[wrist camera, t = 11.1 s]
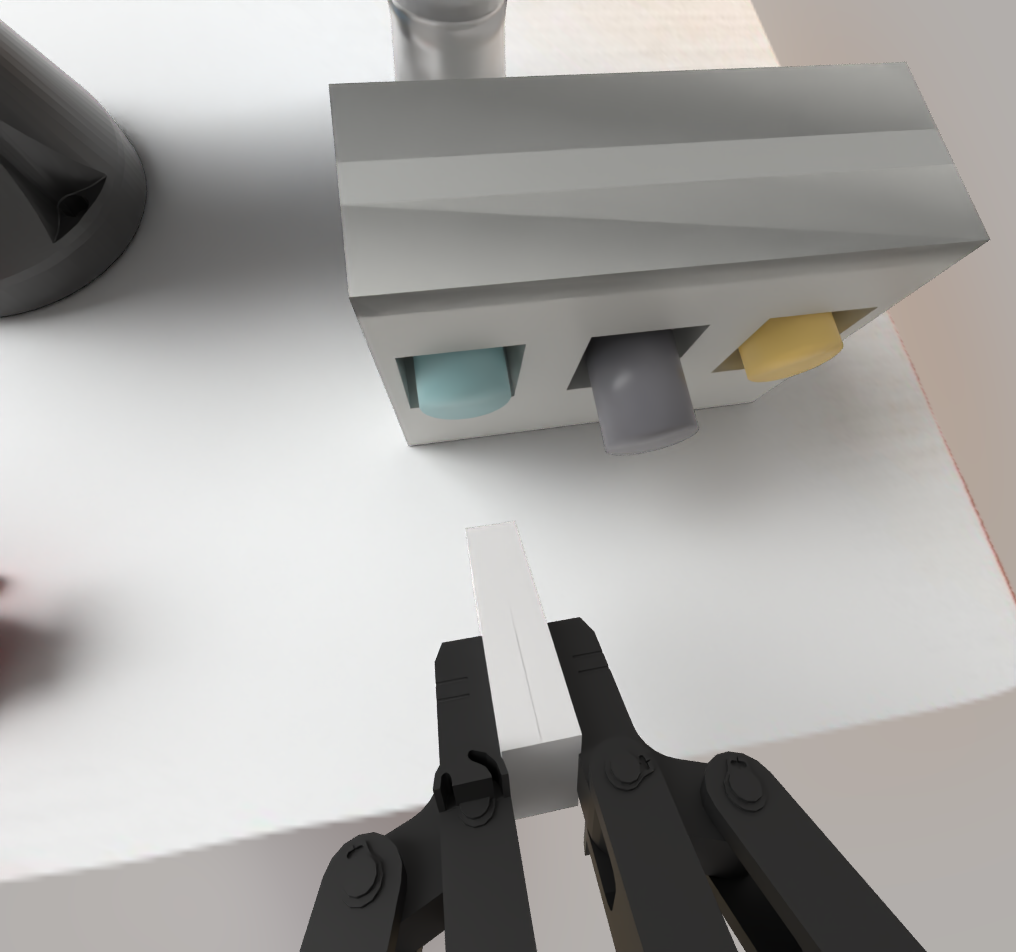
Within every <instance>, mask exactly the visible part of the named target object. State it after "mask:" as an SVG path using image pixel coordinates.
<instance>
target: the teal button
mask: <svg viewBox="0 0 1016 952" xmlns="http://www.w3.org/2000/svg"><path fill="white" fill-rule="evenodd" d="M413 361H414V369H415V377H416V385H417V393H418V400H419V408H420V410H421V411H422V412H423V413H424V414H426V415H428V416H431V417H434V418H439V419H449V420H456V419H468V418H474V417H478V416H482V415H486V414H489V413H491V412H494V411H496V410H498V409H500V408H501V407H503V406H504V405H506V404H507V403H508V402H509V400H510V398H511V390H510V384H509V378H508V373H507V367H506V361H505V356H504V350H503V347H495V348H485V349H476V350H467V351H457V352H448V353H438V354H429V355H419V356H413Z"/></svg>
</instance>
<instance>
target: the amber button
mask: <svg viewBox="0 0 1016 952" xmlns="http://www.w3.org/2000/svg"><path fill="white" fill-rule="evenodd" d="M738 349H739V352H740V355H741V359H742V362H743V365H744V368H745V372H746V375H747V378H748V380H750V381H752V382H768V381H775V380H779V379H784V378H787V377H791V376H794V375H797V374H800V373H803V372H805V371H808V370H810V369H812V368H815V367H817V366H819V365H821V364H823V363H825V362H827V361H828V360H830V359H831V358H833V357H834V356H836V355H837V354H838V353H839V352H840V351H841V350H842V349H843V342H842V339H841V337H840V334H839V331H838V328H837V326H836V323H835V320H834V318H833V315H832V312H825V313H816V314H806V315H797V316H787V317H778V318H770V319H769V320H768V321H766V322H765V323H764V324H763V325H762V326H761V327H760V328H759V329H758V330H757V331H756V332H755V333H753V334H752V335H751V336H750V337H749V338H748V339H747V340H746V341H745V342H744V343H743V344H742V345H740V346H739V347H738Z"/></svg>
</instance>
